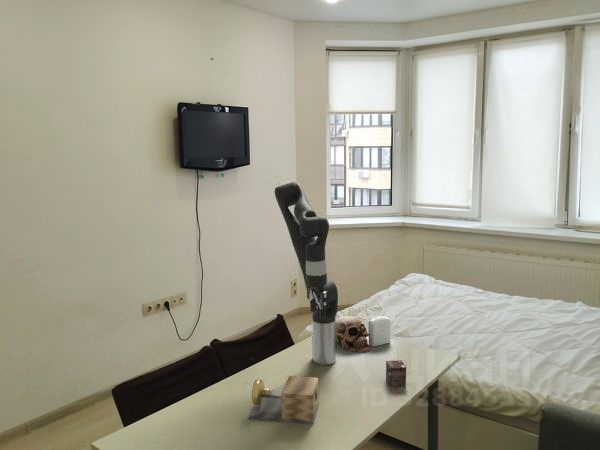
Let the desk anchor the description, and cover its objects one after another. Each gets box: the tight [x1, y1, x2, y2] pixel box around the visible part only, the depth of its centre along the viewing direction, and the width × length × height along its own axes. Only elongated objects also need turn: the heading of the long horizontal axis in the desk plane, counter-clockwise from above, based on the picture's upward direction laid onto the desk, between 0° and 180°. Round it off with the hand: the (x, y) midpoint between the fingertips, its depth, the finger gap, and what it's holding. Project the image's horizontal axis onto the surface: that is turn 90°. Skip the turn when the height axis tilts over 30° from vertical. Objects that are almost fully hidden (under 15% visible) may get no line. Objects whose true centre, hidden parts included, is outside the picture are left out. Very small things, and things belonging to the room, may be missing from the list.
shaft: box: [251, 379, 283, 406], centre depth 157 cm, size 16×8×8 cm, turn 79°
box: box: [385, 359, 407, 388], centre depth 176 cm, size 6×6×7 cm
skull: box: [335, 315, 371, 353], centre depth 212 cm, size 16×17×13 cm
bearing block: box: [248, 375, 320, 425], centre depth 157 cm, size 21×12×10 cm, turn 79°
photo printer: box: [367, 315, 391, 347], centre depth 211 cm, size 10×4×12 cm, turn 115°
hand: (318, 314), depth 175 cm, fingers open, 8 cm apart
